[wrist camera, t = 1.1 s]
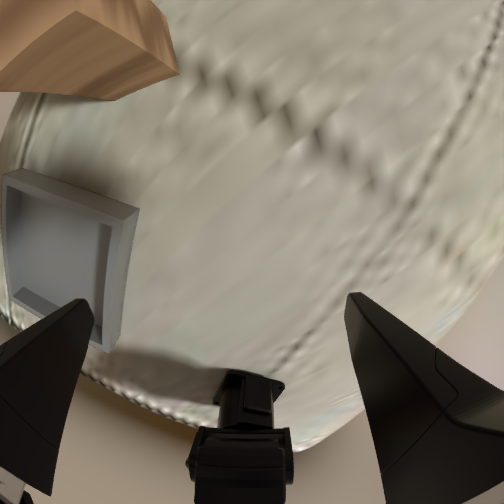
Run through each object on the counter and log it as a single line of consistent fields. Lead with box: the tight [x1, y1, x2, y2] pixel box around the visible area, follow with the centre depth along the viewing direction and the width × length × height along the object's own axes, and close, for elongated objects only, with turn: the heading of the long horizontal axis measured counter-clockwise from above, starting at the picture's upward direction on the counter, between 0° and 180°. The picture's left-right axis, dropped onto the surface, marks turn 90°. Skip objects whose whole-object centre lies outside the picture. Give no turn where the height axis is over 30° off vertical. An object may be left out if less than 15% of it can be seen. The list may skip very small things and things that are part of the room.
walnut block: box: [0, 0, 179, 101], centre depth 10 cm, size 6×6×13 cm
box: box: [1, 168, 140, 354], centre depth 21 cm, size 14×14×3 cm
